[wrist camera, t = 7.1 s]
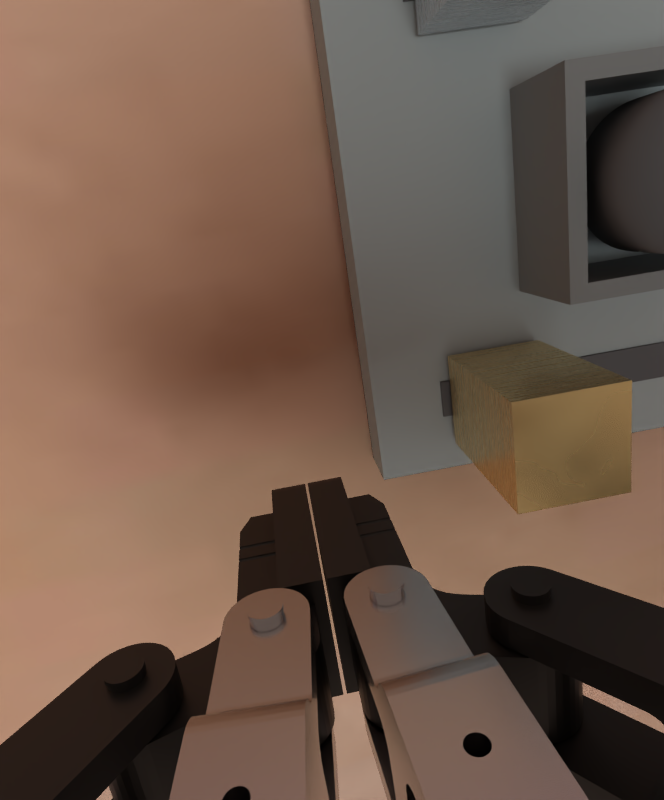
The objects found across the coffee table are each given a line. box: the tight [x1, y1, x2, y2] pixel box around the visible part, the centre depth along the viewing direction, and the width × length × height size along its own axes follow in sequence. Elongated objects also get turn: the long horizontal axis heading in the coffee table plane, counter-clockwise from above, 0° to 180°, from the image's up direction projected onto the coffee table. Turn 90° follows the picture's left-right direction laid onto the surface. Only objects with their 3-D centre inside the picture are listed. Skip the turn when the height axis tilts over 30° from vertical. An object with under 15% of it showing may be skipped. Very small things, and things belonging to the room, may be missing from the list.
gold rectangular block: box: [448, 340, 632, 514], centre depth 17 cm, size 3×3×5 cm
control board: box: [310, 0, 664, 480], centre depth 17 cm, size 17×17×6 cm
